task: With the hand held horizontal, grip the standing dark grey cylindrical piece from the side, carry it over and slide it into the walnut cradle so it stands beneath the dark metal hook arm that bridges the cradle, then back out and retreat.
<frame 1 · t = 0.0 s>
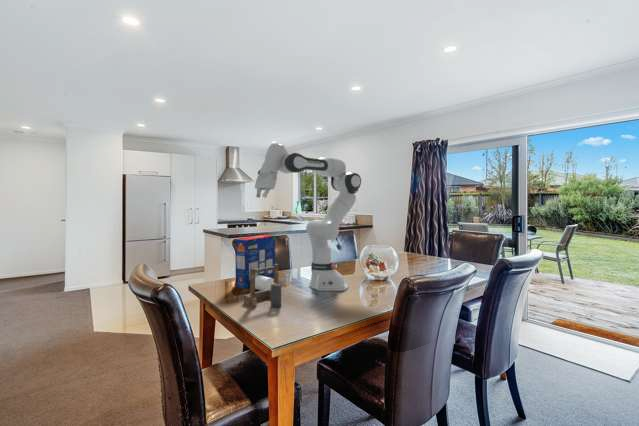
hand: (260, 197, 166), 52 cm above the table, tool tilted 20°, fingers open, 8 cm apart
pasta box: (256, 283, 194), on the table
dark grey cylindrical piece: (276, 306, 152), on the table
cradle: (264, 302, 157), on the table
mug: (266, 290, 179), on the table
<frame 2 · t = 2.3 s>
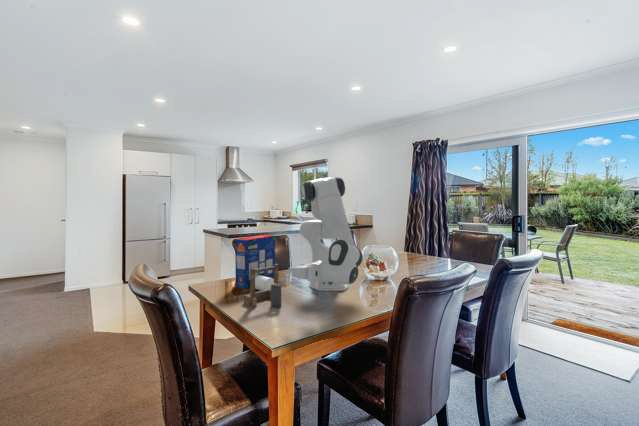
hand: (296, 266, 145), 20 cm above the table, tool horizontal, fingers open, 8 cm apart
nothing on the table moved.
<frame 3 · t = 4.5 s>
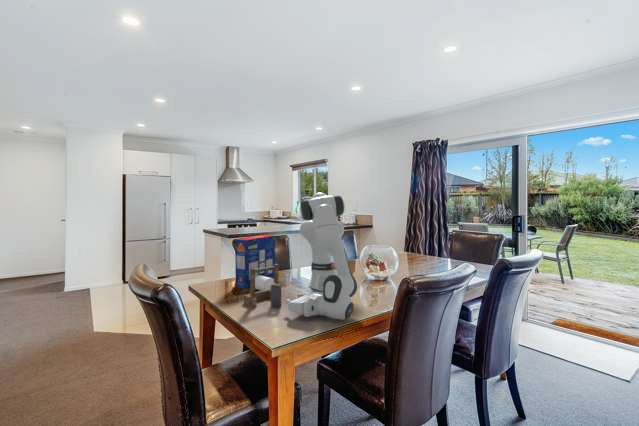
hand: (292, 298, 147), 5 cm above the table, tool horizontal, fingers open, 8 cm apart
nothing on the table moved.
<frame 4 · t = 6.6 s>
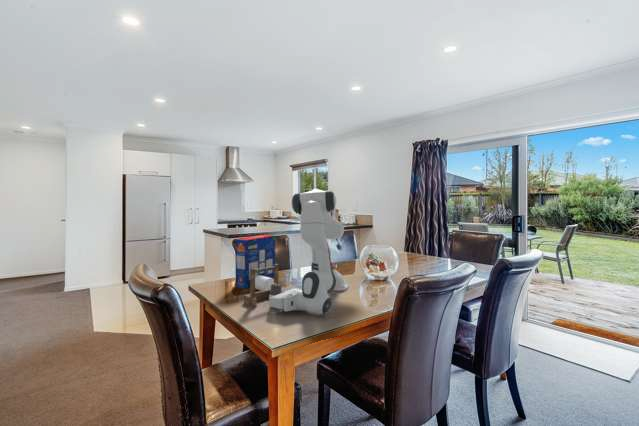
hand: (274, 294, 152), 6 cm above the table, tool horizontal, fingers closed on dark grey cylindrical piece, 5 cm apart
dark grey cylindrical piece: (276, 306, 152), on the table, touching gripper
everything else where it was.
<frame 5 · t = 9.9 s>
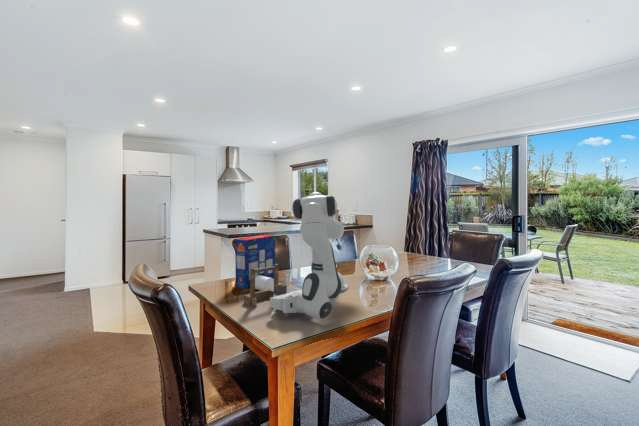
hand: (280, 294, 148), 7 cm above the table, tool horizontal, fingers closed on dark grey cylindrical piece, 5 cm apart
dark grey cylindrical piece: (281, 306, 148), point 1 cm above the table, touching gripper
everything else where it was.
when the fingers open (6 cm above the table, at t = 12.7 s): dark grey cylindrical piece stays where it is, on the table.
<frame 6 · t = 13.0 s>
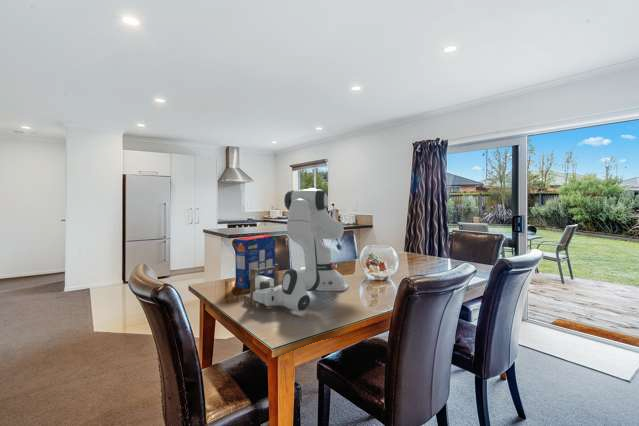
hand: (263, 289, 158), 6 cm above the table, tool horizontal, fingers open, 8 cm apart
dark grey cylindrical piece: (264, 302, 157), on the table
everything else where it was.
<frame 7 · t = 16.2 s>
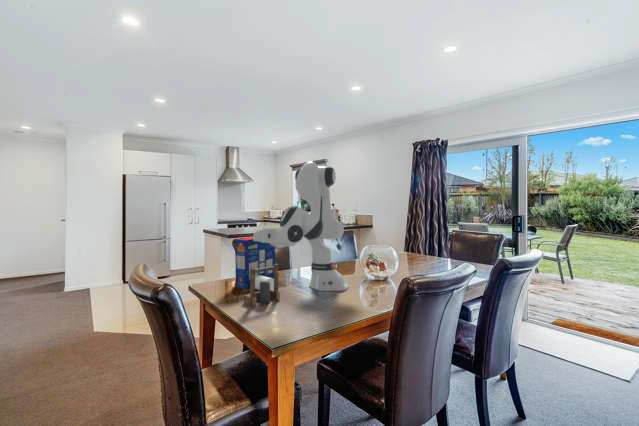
hand: (269, 241, 154), 31 cm above the table, tool horizontal, fingers open, 8 cm apart
nothing on the table moved.
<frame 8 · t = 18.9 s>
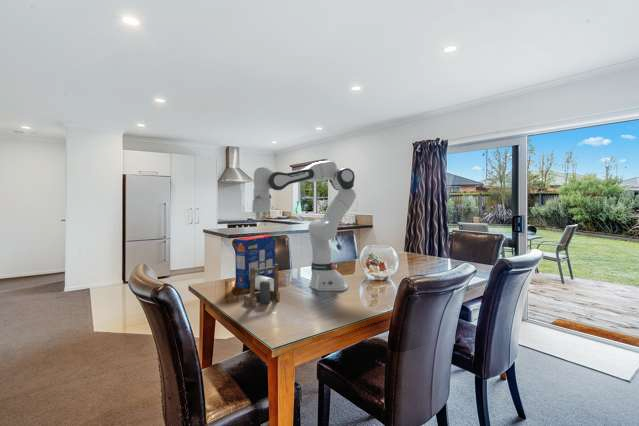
hand: (261, 219, 183), 39 cm above the table, tool pointing down, fingers open, 8 cm apart
nothing on the table moved.
at the end: dark grey cylindrical piece 0.0 cm from the cradle (horizontally); dark grey cylindrical piece tilted 0°; the gripper is holding nothing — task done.
